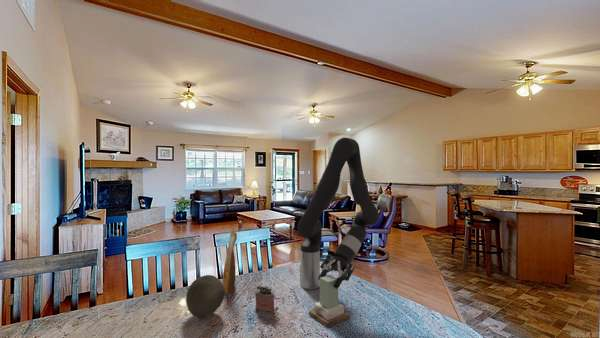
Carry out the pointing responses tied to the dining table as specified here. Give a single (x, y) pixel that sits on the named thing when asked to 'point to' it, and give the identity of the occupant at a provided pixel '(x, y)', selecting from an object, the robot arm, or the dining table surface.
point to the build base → (332, 321)
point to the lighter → (264, 300)
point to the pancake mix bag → (230, 264)
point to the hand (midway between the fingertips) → (327, 283)
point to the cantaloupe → (205, 296)
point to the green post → (328, 292)
